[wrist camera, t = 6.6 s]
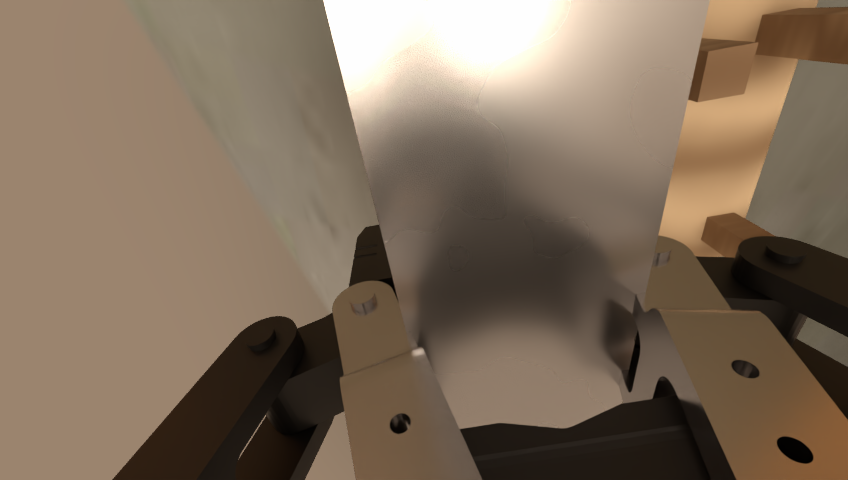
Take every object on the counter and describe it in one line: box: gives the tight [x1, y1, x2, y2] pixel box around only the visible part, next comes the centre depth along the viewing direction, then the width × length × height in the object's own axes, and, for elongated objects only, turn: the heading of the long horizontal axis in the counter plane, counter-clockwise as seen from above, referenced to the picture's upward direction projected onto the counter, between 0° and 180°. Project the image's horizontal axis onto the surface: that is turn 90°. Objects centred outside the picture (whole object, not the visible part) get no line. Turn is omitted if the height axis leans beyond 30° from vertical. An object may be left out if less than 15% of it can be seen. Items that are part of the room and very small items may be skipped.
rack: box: [658, 0, 848, 258], centre depth 22 cm, size 19×12×8 cm, turn 9°
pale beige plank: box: [323, 0, 710, 429], centre depth 9 cm, size 18×4×6 cm, turn 9°
